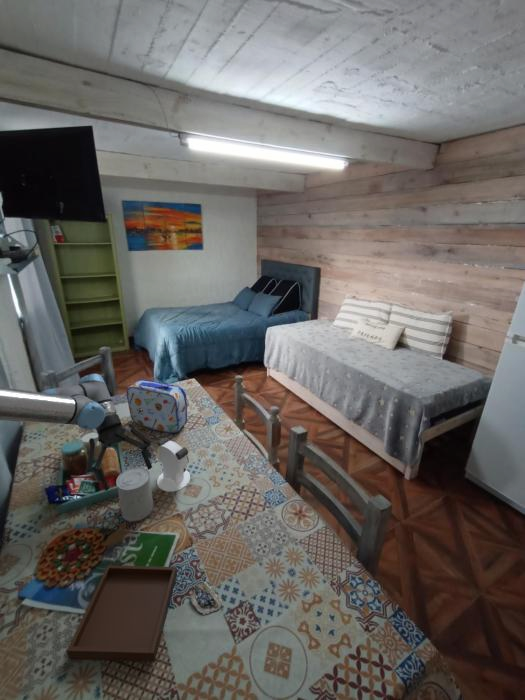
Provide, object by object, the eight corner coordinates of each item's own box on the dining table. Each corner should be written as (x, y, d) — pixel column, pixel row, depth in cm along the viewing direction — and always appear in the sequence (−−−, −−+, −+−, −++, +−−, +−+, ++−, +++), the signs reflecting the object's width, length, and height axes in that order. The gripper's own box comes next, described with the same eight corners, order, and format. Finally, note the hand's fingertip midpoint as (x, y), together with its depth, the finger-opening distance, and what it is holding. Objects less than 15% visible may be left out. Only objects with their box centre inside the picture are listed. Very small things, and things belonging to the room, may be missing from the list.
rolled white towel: (122, 501, 103) (116, 470, 99) (152, 493, 106) (149, 464, 102) (120, 525, 95) (115, 493, 90) (154, 516, 98) (150, 485, 94)
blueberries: (200, 579, 81) (199, 573, 80) (228, 591, 78) (228, 586, 77) (185, 606, 75) (184, 600, 74) (214, 620, 72) (214, 615, 71)
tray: (69, 659, 65) (66, 650, 64) (109, 573, 81) (107, 564, 80) (154, 661, 65) (153, 653, 64) (177, 574, 81) (176, 566, 80)
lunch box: (193, 425, 144) (191, 381, 136) (181, 438, 135) (178, 392, 127) (142, 414, 152) (137, 372, 144) (128, 426, 142) (121, 382, 134)
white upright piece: (198, 477, 114) (196, 443, 108) (173, 497, 105) (170, 461, 99) (175, 464, 120) (172, 430, 115) (150, 482, 111) (146, 446, 106)
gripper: (63, 429, 94) (88, 498, 89) (144, 401, 110) (169, 458, 105) (62, 436, 99) (85, 501, 94) (139, 408, 115) (163, 462, 111)
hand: (129, 478), depth 100 cm, fingers open, 13 cm apart
